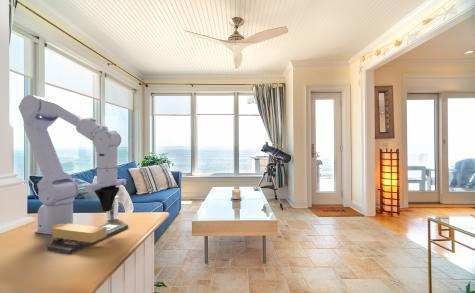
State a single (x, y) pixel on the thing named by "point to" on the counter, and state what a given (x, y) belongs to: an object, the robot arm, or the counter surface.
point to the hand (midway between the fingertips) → (107, 210)
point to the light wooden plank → (78, 232)
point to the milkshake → (113, 210)
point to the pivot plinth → (57, 239)
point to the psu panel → (75, 245)
